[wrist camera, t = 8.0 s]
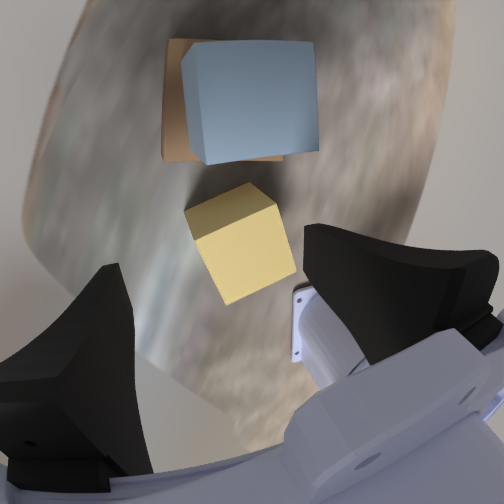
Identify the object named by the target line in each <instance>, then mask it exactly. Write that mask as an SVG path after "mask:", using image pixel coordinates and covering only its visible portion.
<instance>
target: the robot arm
mask: <svg viewBox="0 0 504 504" xmlns="http://www.w3.org/2000/svg"><path fill="white" fill-rule="evenodd" d="M303 271H304V273H305V274H306V276H307V278H308V279H309V281H310V283H311V284H312V286H309V287H305V288H301V289H298V290H296V291H295V292H294V293H293V317H292V348H291V360H292V362H298V361H301V360H302V362H303V364H304V365H305V367H306V368H307V370H308V372H309V373H310V375H311V376H312V378H313V379H314V381H315V383H316V384H317V386H318V387H319V389H320V391H318V392H316V393H315V394H314V395H313V396H312V397H311V398H309V399H308V400H307V401H306V402H305V403H304V404H303V405H301V406H300V407H299V408H298V409H297V410H296V411H295V412H294V414H293V416H292V418H291V420H290V422H289V424H288V426H287V428H286V430H285V432H284V442H283V443H280V444H277V445H274V446H271V447H268V448H265V449H262V450H259V451H255V452H252V453H248V454H245V455H241V456H238V457H234V458H230V459H226V460H222V461H218V462H214V463H209V464H205V465H200V466H195V467H190V468H185V469H180V470H174V471H168V472H162V473H153V469H152V466H151V462H150V459H149V455H148V451H147V447H146V443H145V439H144V435H143V430H142V425H141V420H140V415H139V409H138V403H137V397H136V390H135V368H134V366H135V360H134V359H135V327H134V317H133V308H132V305H131V302H130V299H129V296H128V293H127V290H126V286H125V283H124V280H123V277H122V273H121V270H120V267H119V263H114V264H109V265H104V266H102V267H101V268H100V269H99V270H98V272H97V273H96V274H95V275H94V277H93V278H92V279H91V280H90V282H89V283H88V284H87V285H86V287H85V288H84V289H83V290H82V292H81V293H80V294H79V295H78V296H77V297H76V299H75V300H74V301H73V302H72V303H71V304H70V306H69V307H68V308H67V309H66V310H65V311H64V312H63V313H62V314H61V316H60V317H59V318H58V319H57V320H56V321H55V322H53V323H52V324H51V325H50V326H49V327H48V328H47V329H46V330H45V331H44V332H42V333H41V334H40V335H39V336H38V337H36V338H35V339H34V340H33V341H31V342H30V343H29V344H28V345H26V346H25V347H24V348H22V349H21V350H20V351H18V352H16V353H15V354H13V355H12V356H11V357H9V358H7V359H6V360H4V361H3V362H1V363H0V451H2V452H3V453H4V454H5V455H6V456H7V457H9V459H8V467H7V466H5V465H2V464H0V504H504V444H503V442H502V441H501V440H500V439H499V438H498V437H497V435H496V434H495V433H494V432H493V431H492V430H491V429H490V427H489V426H488V425H487V424H486V422H487V421H488V420H489V419H490V418H491V417H492V416H493V415H494V413H495V412H496V411H497V410H498V409H499V408H500V407H501V406H502V405H503V404H504V309H503V310H502V311H501V312H500V313H499V314H498V316H497V317H495V316H493V315H492V314H491V312H492V311H493V307H492V306H491V305H490V304H489V303H488V301H489V299H490V296H491V293H492V291H493V288H494V285H495V283H496V280H497V277H498V273H499V260H498V258H497V257H496V256H495V255H494V254H492V253H490V252H489V251H486V250H466V251H465V250H464V251H452V250H433V249H423V248H416V247H409V246H405V245H399V244H394V243H390V242H386V241H382V240H378V239H374V238H371V237H367V236H364V235H361V234H357V233H354V232H351V231H347V230H344V229H341V228H337V227H334V226H330V225H326V224H320V223H317V224H311V225H306V226H304V256H303ZM299 298H300V299H299ZM298 299H299V300H298Z"/></svg>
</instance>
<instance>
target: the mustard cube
mask: <svg viewBox="0 0 504 504" xmlns="http://www.w3.org/2000/svg"><path fill="white" fill-rule="evenodd" d="M184 214H185V217H186V219H187V222H188V225H189V228H190V231H191V233H192V236H193V239H194V241H195V243H196V246H197V248H198V250H199V252H200V254H201V256H202V258H203V260H204V262H205V264H206V266H207V268H208V270H209V272H210V274H211V276H212V278H213V280H214V282H215V284H216V286H217V288H218V290H219V292H220V294H221V296H222V298H223V300H224V302H225V304H226V305H228V304H230V303H232V302H234V301H237V300H239V299H241V298H243V297H245V296H247V295H249V294H251V293H253V292H255V291H258V290H260V289H262V288H264V287H266V286H268V285H270V284H272V283H274V282H276V281H278V280H280V279H282V278H284V277H286V276H288V275H290V274H292V273H294V272H296V267H295V264H294V260H293V257H292V253H291V250H290V247H289V243H288V240H287V236H286V233H285V230H284V226H283V223H282V220H281V217H280V213H279V210H278V207H277V204H276V203H275V202H274V201H273V200H271V199H270V198H269V197H268V196H266V195H265V194H264V193H263V192H261V191H260V190H259V189H258V188H256V187H255V186H254V185H253V184H251V183H250V182H248V183H246V184H243V185H241V186H239V187H236V188H234V189H232V190H230V191H227V192H225V193H223V194H220V195H218V196H216V197H214V198H211V199H209V200H207V201H205V202H203V203H200V204H198V205H196V206H194V207H192V208H190V209H187V210H185V211H184Z"/></svg>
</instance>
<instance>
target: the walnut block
mask: <svg viewBox="0 0 504 504" xmlns="http://www.w3.org/2000/svg"><path fill="white" fill-rule="evenodd" d="M213 41H222V40H208V39H180V38H169V40H168V43H167V46H166V51H165V64H164V79H163V99H162V130H161V155H162V159H163V162H185V161H202V160H201V159H200V158H199V157H198V156H197V155H196V154H195V153H194V152H193V151H192V150H191V149H190V143H189V135H188V127H187V118H186V109H185V100H184V91H183V81H182V71H181V60H182V59H183V58H184V56H185V55H186V53H187V52H188V51H189V49H190V48H191V47H192V45H193V44H194V43H201V42H213ZM239 161H283V155H276V156H268V157H260V158H253V159H246V160H239Z"/></svg>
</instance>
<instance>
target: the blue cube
mask: <svg viewBox="0 0 504 504" xmlns="http://www.w3.org/2000/svg"><path fill="white" fill-rule="evenodd" d="M181 71H182V81H183V91H184V100H185V109H186V118H187V127H188V135H189V143H190V149H191V150H192V151H193V152H194V153H195V154H196V155H197V156H198V157H199V158H200V159H201V160H202V161H203V162H204V163H205V164H206V165H213V164H219V163H226V162H232V161H239V160H246V159H253V158H260V157H268V156H276V155H284V154H293V153H302V152H313V151H319V133H318V106H317V86H316V70H315V56H314V43H313V42H304V41H286V40H232V41H213V42H201V43H194V44H193V45H192V47H191V48H190V49H189V51H188V52H187V53H186V55H185V56H184V58H183V59H182V60H181Z"/></svg>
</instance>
